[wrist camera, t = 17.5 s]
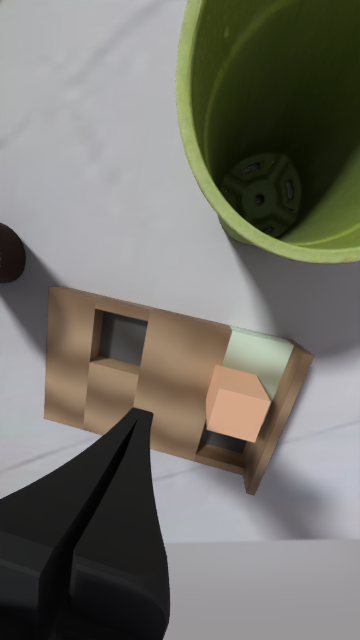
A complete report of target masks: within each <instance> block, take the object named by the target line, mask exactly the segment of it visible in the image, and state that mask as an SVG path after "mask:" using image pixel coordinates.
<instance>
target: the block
mask: <svg viewBox="0 0 360 640" xmlns="http://www.w3.org/2000/svg"><path fill="white" fill-rule="evenodd" d="M270 402H271V401H270V399H269V397H268V396H267V394H266V392H265V390H264V388H263V386H262V385H261V383H260V381H259V379H258V377H257V375H255V374H251V373H247V372H243V371H239V370H235V369H231V368H227V367H223V366H218V365H215V369H214V372H213V376H212V379H211V383H210V386H209V390H208V393H207V397H206V423H207V430H210V431H213V432H217V433H221V434H224V435H228V436H232V437H235V438H239V439H243V440H246V441H250V442H254V443H255V441H256V438H257V436H258V433H259V431H260V428H261V425H262V423H263V420H264V418H265V415H266V413H267V410H268V408H269V405H270Z"/></svg>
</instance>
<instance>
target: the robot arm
mask: <svg viewBox="0 0 360 640" xmlns="http://www.w3.org/2000/svg"><path fill="white" fill-rule="evenodd" d="M153 416H154V414H153V412H149V411H146V410H142V409H138V408H135V407H133V408H131V409H130V410H129V411H128V412H127V414H126V415H125V416H124V417H123V418H122V419H121V420H120V421H119V422H118V423H117V424H115V425H114V426H113V427H112V428H111V429H110V430H109V431H108V432H107V433H106V434H104V435H103V436H102V437H101V438H100V439H98V440H97V441H96V442H95V443H93V444H92V445H91V446H90V447H88V448H87V449H86V450H84V451H83V452H81V453H80V454H79V455H77V456H76V457H74V458H73V459H71V460H70V461H68V462H67V463H65V464H64V465H62V466H61V467H59V468H58V469H56V470H54V471H53V472H51V473H49V474H47V475H46V476H44V477H42V478H40V479H39V480H37V481H35V482H33V483H31V484H30V485H28V486H26V487H24V488H22V489H20V490H18V491H16V492H14V493H12V494H10V495H8V496H6V497H4V498H2V499H0V640H163V638H164V635H165V632H166V629H167V626H168V623H169V617H170V588H169V575H168V563H167V555H166V551H165V547H164V543H163V539H162V534H161V530H160V525H159V521H158V516H157V510H156V504H155V498H154V492H153V484H152V475H151V463H150V432H151V426H152V421H153Z"/></svg>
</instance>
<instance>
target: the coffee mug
mask: <svg viewBox="0 0 360 640" xmlns="http://www.w3.org/2000/svg"><path fill="white" fill-rule="evenodd" d="M25 260H26V257H25V250H24V247H23V244H22V242H21V240H20V239H19V237H18V236H17V234H16V233H15V232H14V231H13V230H12V229H11V228H9V227H8V226H6V225H4V224H2V223H0V284H1V283H8V282H12V281H14V280H16V279H17V278H19V277H20V275H21V274H22V272H23V270H24V267H25Z"/></svg>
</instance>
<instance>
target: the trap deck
mask: <svg viewBox="0 0 360 640" xmlns="http://www.w3.org/2000/svg"><path fill="white" fill-rule="evenodd" d="M313 358H314V355H313V354H311V353H310V352H308V351H307V350H306V349H304V348H303V347H301V346H300V345H298V344H297V343H296V342H294V341H293V340H289V339H285V338H280V337H276V336H272V335H268V334H263V333H259V332H255V331H251V330H246V329H242V328H238V327H234V326H229V325H225V324H221V323H217V322H212V321H208V320H204V319H200V318H195V317H191V316H187V315H183V314H178V313H174V312H170V311H166V310H161V309H157V308H153V307H149V306H144V305H140V304H136V303H132V302H127V301H123V300H119V299H115V298H110V297H106V296H102V295H98V294H93V293H89V292H85V291H81V290H76V289H72V288H68V287H64V286H62V287H49V293H48V321H47V349H46V377H45V405H44V419H47V420H51V421H54V422H58V423H61V424H65V425H68V426H72V427H75V428H79V429H82V430H86V431H89V432H93V433H96V434H100V435H104V434H106V433H107V432H108V431H109V430H110V429H111V428H112V427H113V426H114V425H115V424H117V423H118V422H119V421H120V420H121V419H122V418H123V417H124V416H125V415H126V414H127V412H128V411H129V410H130V409H131V408H133V407H135V408H138V409H142V410H146V411H149V412H153V414H154V416H153V421H152V426H151V432H150V449H152V450H156V451H159V452H163V453H166V454H170V455H173V456H177V457H180V458H184V459H187V460H191V461H194V462H198V463H201V464H205V465H208V466H212V467H216V468H219V469H223V470H226V471H230V472H233V473H237V474H240V475H243V478H244V483H245V488H246V493H247V494H251V495H255V493H256V491H257V488H258V486H259V484H260V481H261V479H262V477H263V474H264V472H265V470H266V467H267V465H268V463H269V460H270V458H271V456H272V453H273V451H274V449H275V446H276V444H277V442H278V439H279V437H280V435H281V432H282V430H283V428H284V425H285V423H286V421H287V418H288V416H289V414H290V411H291V409H292V407H293V404H294V402H295V400H296V397H297V395H298V393H299V390H300V388H301V386H302V383H303V381H304V379H305V376H306V374H307V372H308V369H309V367H310V365H311V362H312V360H313ZM215 365H218V366H223V367H227V368H231V369H235V370H239V371H243V372H247V373H251V374H255V375H257V377H258V379H259V381H260V383H261V385H262V386H263V388H264V390H265V392H266V394H267V396H268V397H269V399H270V401H271V402H270V405H269V408H268V410H267V413H266V415H265V418H264V420H263V423H262V425H261V428H260V431H259V433H258V436H257V438H256V441H255V443H254V442H250V441H246V440H243V439H239V438H235V437H232V436H228V435H224V434H221V433H217V432H213V431H210V430H207V423H206V397H207V393H208V390H209V386H210V383H211V379H212V376H213V372H214V369H215Z"/></svg>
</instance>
